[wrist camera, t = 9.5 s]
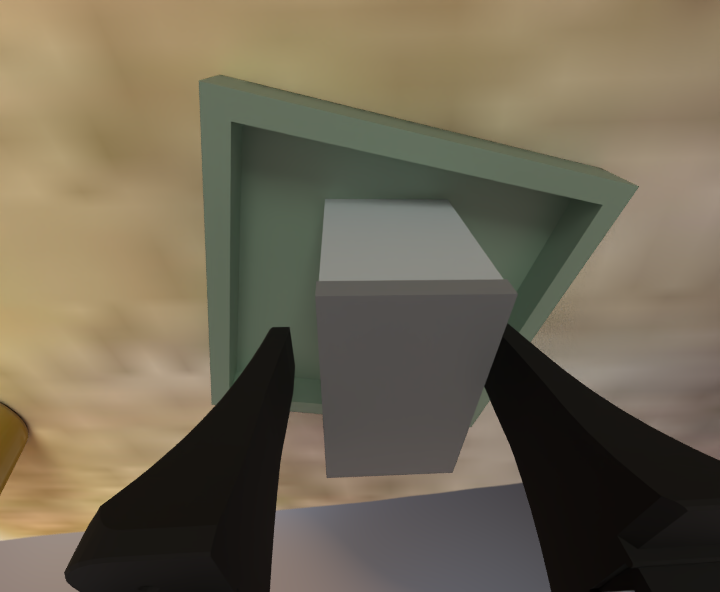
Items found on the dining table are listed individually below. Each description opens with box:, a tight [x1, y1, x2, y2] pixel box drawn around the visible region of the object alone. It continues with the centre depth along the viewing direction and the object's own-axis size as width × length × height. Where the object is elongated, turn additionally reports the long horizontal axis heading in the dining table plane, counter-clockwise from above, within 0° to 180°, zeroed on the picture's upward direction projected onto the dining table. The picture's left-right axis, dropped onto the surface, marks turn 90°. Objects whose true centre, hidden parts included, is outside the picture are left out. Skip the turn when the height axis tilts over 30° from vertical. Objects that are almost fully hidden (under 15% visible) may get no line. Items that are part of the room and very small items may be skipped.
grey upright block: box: [315, 199, 518, 478], centre depth 13 cm, size 5×8×6 cm, turn 178°
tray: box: [199, 75, 639, 427], centre depth 15 cm, size 14×14×2 cm
